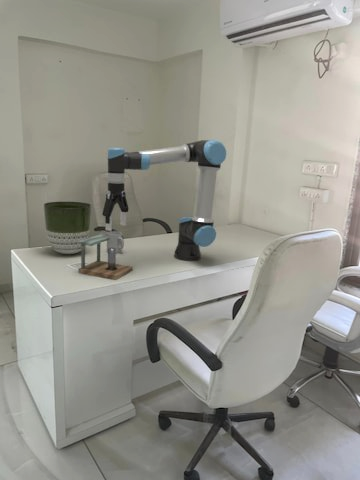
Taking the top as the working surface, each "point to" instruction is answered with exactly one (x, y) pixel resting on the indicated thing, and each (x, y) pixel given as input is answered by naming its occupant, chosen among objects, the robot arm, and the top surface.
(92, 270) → the peg stand
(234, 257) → the top surface
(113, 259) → the peg
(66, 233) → the planter
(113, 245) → the mug
